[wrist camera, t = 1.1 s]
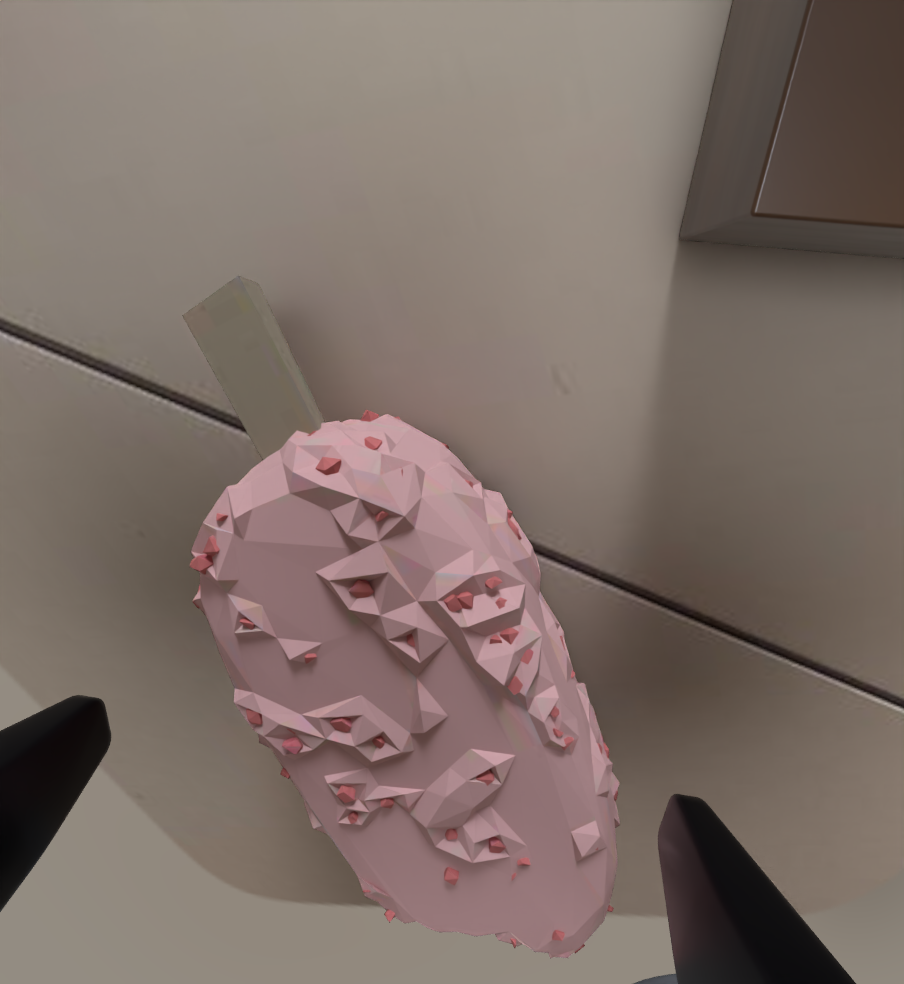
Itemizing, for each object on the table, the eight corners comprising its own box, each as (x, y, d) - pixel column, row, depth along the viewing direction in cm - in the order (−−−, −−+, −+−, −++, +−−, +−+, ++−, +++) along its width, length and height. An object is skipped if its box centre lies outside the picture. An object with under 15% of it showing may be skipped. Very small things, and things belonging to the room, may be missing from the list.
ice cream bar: (353, 165, 6) (692, 982, 10) (415, 225, 10) (637, 786, 14) (-48, 380, 7) (397, 1021, 11) (152, 355, 11) (425, 832, 15)
